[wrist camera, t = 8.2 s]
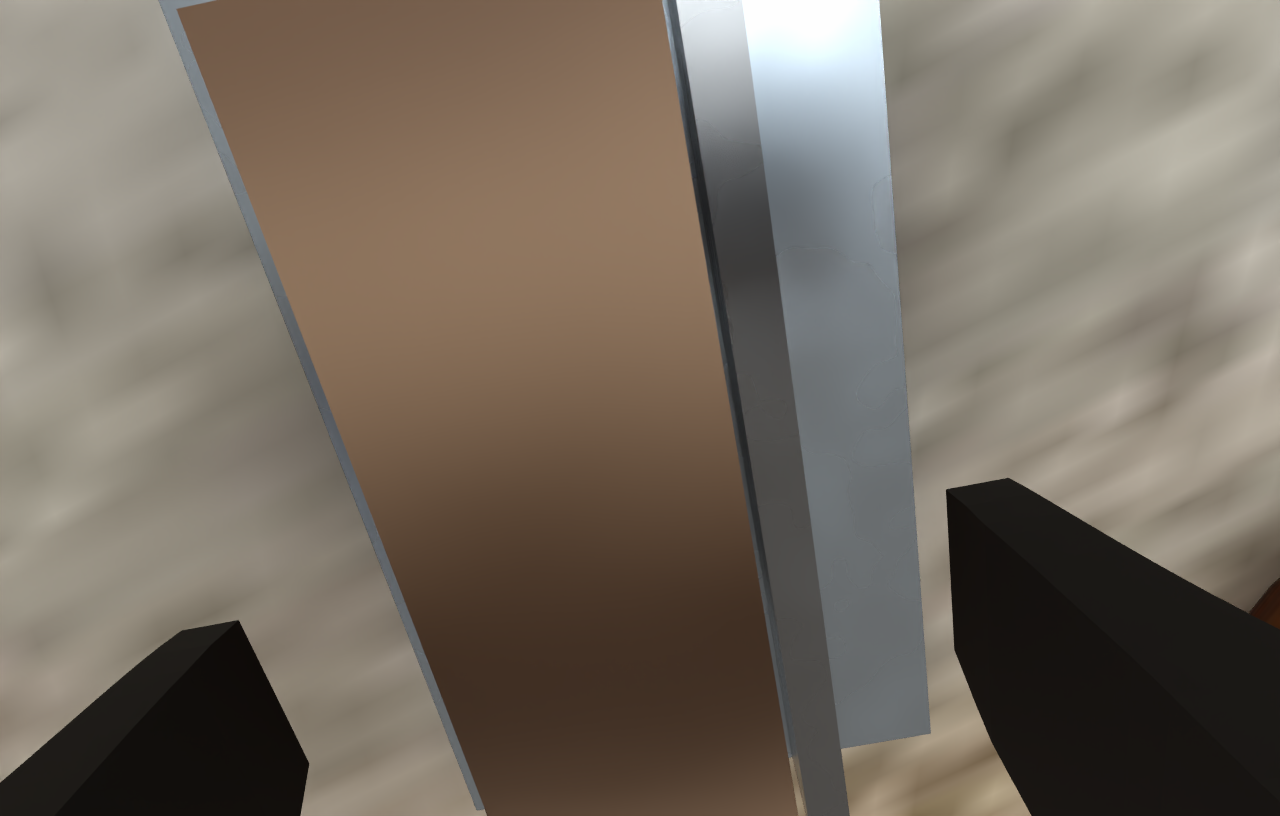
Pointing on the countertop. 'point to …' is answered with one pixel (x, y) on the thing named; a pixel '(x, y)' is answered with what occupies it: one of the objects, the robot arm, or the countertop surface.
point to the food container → (1269, 606)
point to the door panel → (521, 377)
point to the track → (779, 357)
